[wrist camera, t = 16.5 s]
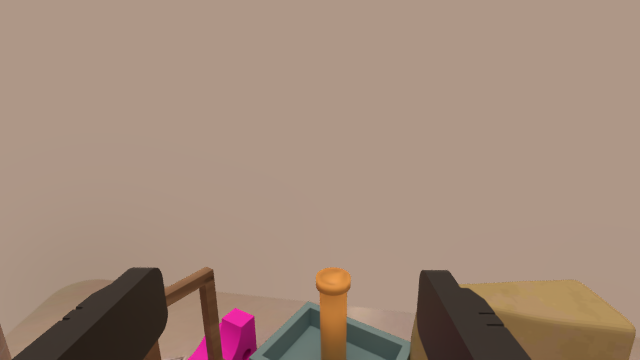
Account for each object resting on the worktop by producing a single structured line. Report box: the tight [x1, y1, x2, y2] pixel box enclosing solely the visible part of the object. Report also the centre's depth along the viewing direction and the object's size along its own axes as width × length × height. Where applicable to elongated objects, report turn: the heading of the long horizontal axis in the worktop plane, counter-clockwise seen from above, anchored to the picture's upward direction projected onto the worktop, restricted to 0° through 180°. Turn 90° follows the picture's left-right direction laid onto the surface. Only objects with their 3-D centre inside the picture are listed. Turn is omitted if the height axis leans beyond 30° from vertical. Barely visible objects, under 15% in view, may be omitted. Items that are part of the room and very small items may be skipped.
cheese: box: [409, 280, 636, 360], centre depth 39 cm, size 22×10×15 cm, turn 84°
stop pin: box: [316, 268, 351, 360], centre depth 41 cm, size 4×4×15 cm
